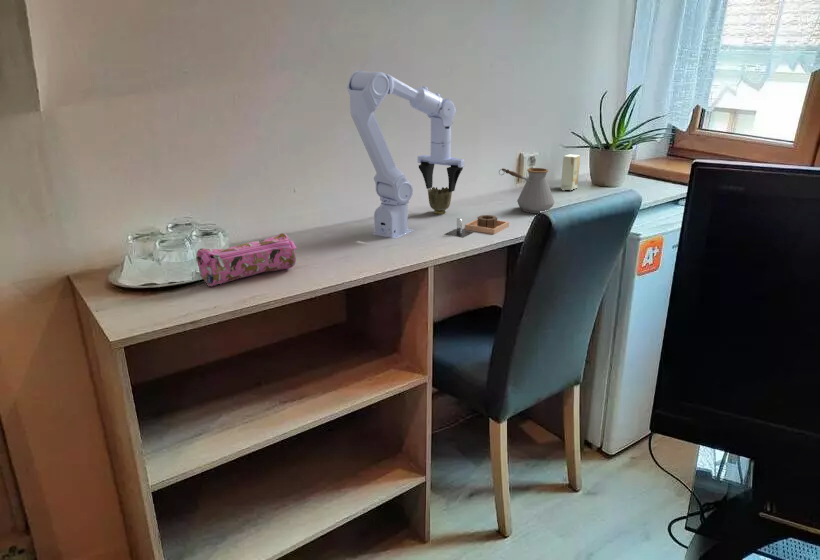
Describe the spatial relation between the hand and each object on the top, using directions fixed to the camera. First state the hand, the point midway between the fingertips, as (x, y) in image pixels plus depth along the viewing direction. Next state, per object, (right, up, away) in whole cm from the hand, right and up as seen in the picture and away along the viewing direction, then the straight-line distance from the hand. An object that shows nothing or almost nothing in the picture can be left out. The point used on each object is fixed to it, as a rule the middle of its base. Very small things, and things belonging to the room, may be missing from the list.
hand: (440, 189), depth 180 cm
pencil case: (-46, -26, -38) cm, 64 cm away
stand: (+5, -14, -8) cm, 17 cm away
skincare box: (+49, +6, +44) cm, 66 cm away
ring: (+13, -11, -4) cm, 18 cm away
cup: (0, -6, +12) cm, 14 cm away
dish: (+13, -12, -4) cm, 18 cm away
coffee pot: (+27, -5, +14) cm, 31 cm away
